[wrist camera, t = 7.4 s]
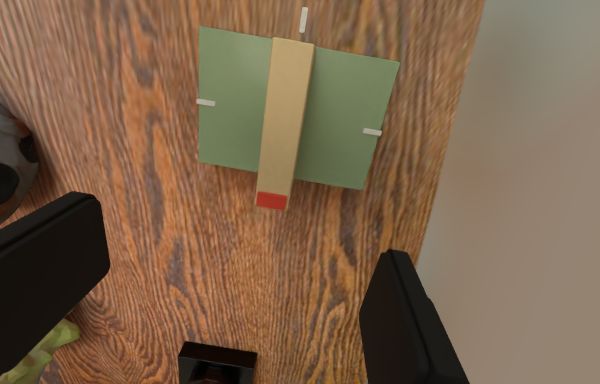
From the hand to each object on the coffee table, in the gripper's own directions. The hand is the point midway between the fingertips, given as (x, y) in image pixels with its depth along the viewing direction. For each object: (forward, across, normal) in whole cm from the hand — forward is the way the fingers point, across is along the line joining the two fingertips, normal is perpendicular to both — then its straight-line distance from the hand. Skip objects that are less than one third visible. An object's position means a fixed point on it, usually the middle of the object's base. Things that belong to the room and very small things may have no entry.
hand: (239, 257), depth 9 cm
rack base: (+17, 0, -2) cm, 17 cm away
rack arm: (+14, 0, -2) cm, 14 cm away
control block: (+18, +5, +35) cm, 39 cm away
